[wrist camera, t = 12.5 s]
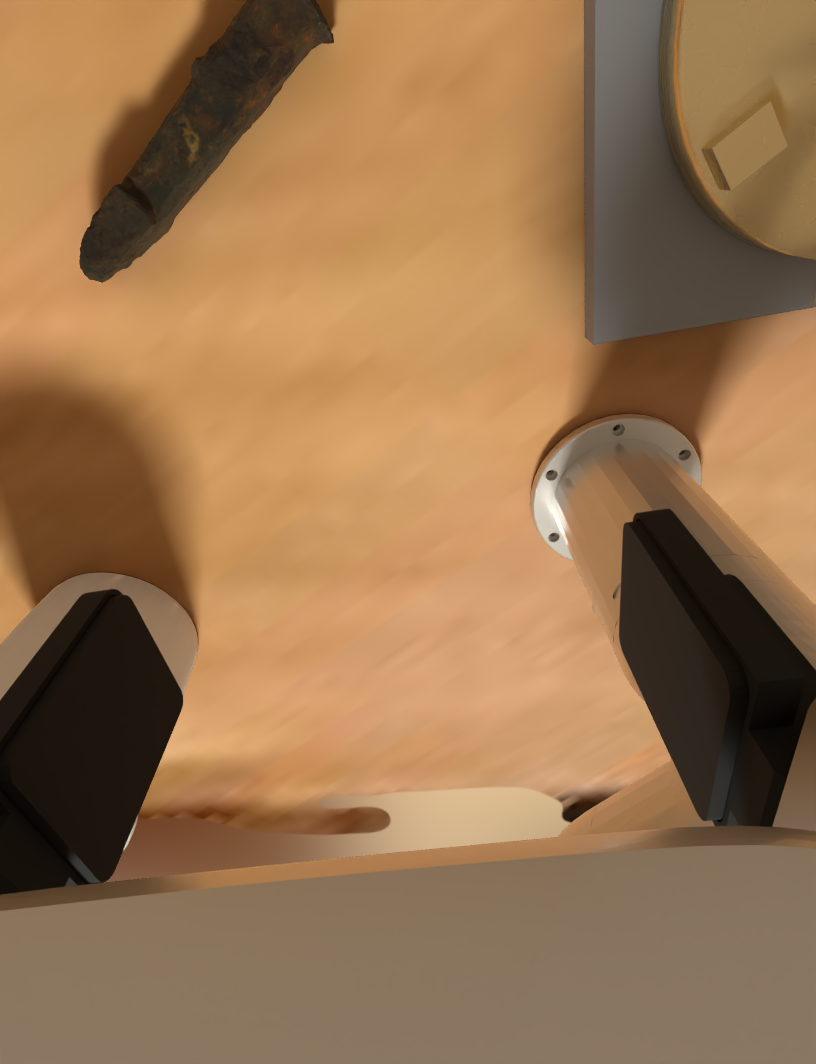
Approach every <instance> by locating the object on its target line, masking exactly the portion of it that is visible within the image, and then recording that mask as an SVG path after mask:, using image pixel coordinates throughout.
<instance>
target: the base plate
mask: <svg viewBox="0 0 816 1064" xmlns="http://www.w3.org/2000/svg"><path fill="white" fill-rule="evenodd" d="M664 1H665V0H584V139H585V338H587V339H588V340H589V341H590V342H591V343H592V344H593V345H594V344H600V343H606V342H612V341H618V340H624V339H630V338H636V337H642V336H647V335H653V334H659V333H665V332H671V331H677V330H683V329H689V328H695V327H701V326H706V325H712V324H718V323H724V322H730V321H736V320H742V319H748V318H754V317H760V316H765V315H771V314H777V313H783V312H789V311H795V310H801V309H807V308H813V307H816V260H814V259H809V258H803V257H798V256H793V255H788V254H783V253H778V252H773V251H768V250H765V249H762V248H759V247H757V246H754V245H751V244H749V243H746V242H744V241H742V240H741V239H739V238H737V237H735V236H734V235H732V234H730V233H729V232H727V231H725V230H724V229H723V228H722V227H721V226H719V225H718V224H717V223H716V222H715V221H714V220H712V219H711V218H710V217H709V216H708V215H707V214H706V213H705V212H704V210H703V209H702V208H701V207H700V205H699V204H698V203H697V202H696V201H695V199H694V198H693V197H692V195H691V194H690V192H689V190H688V188H687V187H686V185H685V183H684V182H683V180H682V178H681V176H680V175H679V172H678V170H677V167H676V165H675V162H674V160H673V157H672V155H671V152H670V149H669V146H668V142H667V138H666V133H665V129H664V125H663V121H662V114H661V106H660V97H659V89H658V48H659V39H660V29H661V19H662V11H663V6H664Z"/></svg>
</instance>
